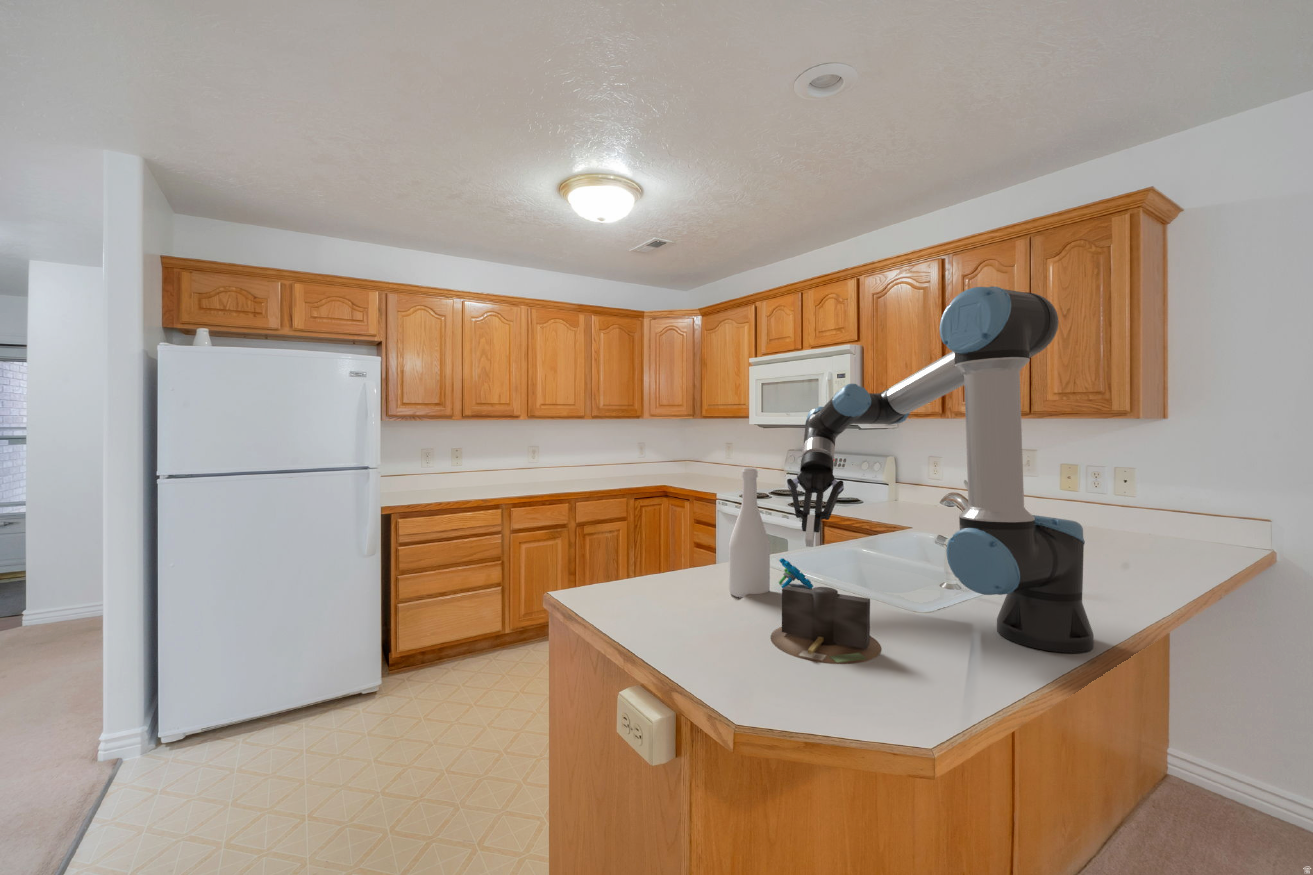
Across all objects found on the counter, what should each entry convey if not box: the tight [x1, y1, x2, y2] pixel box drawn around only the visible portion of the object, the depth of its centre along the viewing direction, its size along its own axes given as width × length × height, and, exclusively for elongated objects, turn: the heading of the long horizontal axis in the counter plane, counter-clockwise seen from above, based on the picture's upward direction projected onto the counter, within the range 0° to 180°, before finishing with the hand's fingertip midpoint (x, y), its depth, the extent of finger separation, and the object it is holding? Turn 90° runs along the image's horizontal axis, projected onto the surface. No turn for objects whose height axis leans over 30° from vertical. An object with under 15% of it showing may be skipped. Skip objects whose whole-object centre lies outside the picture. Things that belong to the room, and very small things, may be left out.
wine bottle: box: [728, 467, 771, 599], centre depth 135 cm, size 10×10×30 cm
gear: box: [778, 557, 814, 590], centre depth 140 cm, size 11×6×10 cm
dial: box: [770, 626, 882, 665], centre depth 102 cm, size 19×19×2 cm
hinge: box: [781, 585, 871, 654], centre depth 99 cm, size 15×11×9 cm
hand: (809, 543), depth 122 cm, fingers closed
